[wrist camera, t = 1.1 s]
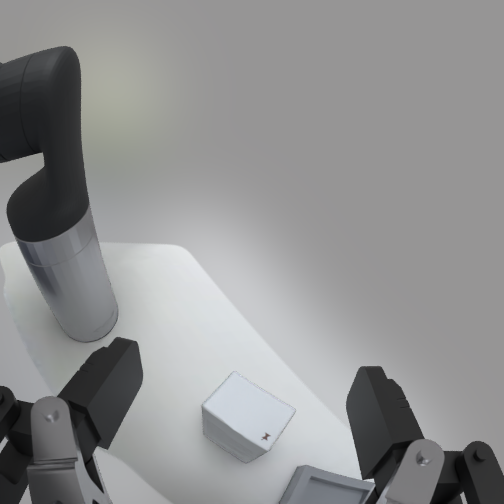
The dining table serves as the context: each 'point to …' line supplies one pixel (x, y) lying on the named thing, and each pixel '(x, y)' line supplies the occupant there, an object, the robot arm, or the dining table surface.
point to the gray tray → (324, 488)
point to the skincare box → (244, 418)
